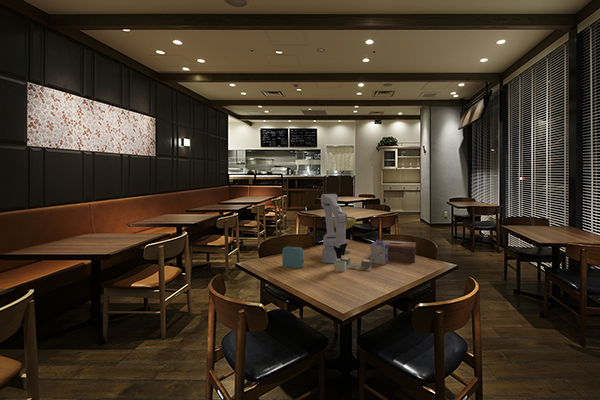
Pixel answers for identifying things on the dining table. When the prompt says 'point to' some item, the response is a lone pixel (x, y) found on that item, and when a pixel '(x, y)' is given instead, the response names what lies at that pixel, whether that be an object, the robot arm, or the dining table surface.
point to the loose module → (340, 266)
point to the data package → (292, 257)
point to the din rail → (357, 265)
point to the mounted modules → (363, 263)
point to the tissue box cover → (400, 250)
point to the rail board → (359, 268)
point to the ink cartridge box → (379, 253)
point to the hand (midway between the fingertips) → (340, 256)
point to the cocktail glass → (347, 226)
